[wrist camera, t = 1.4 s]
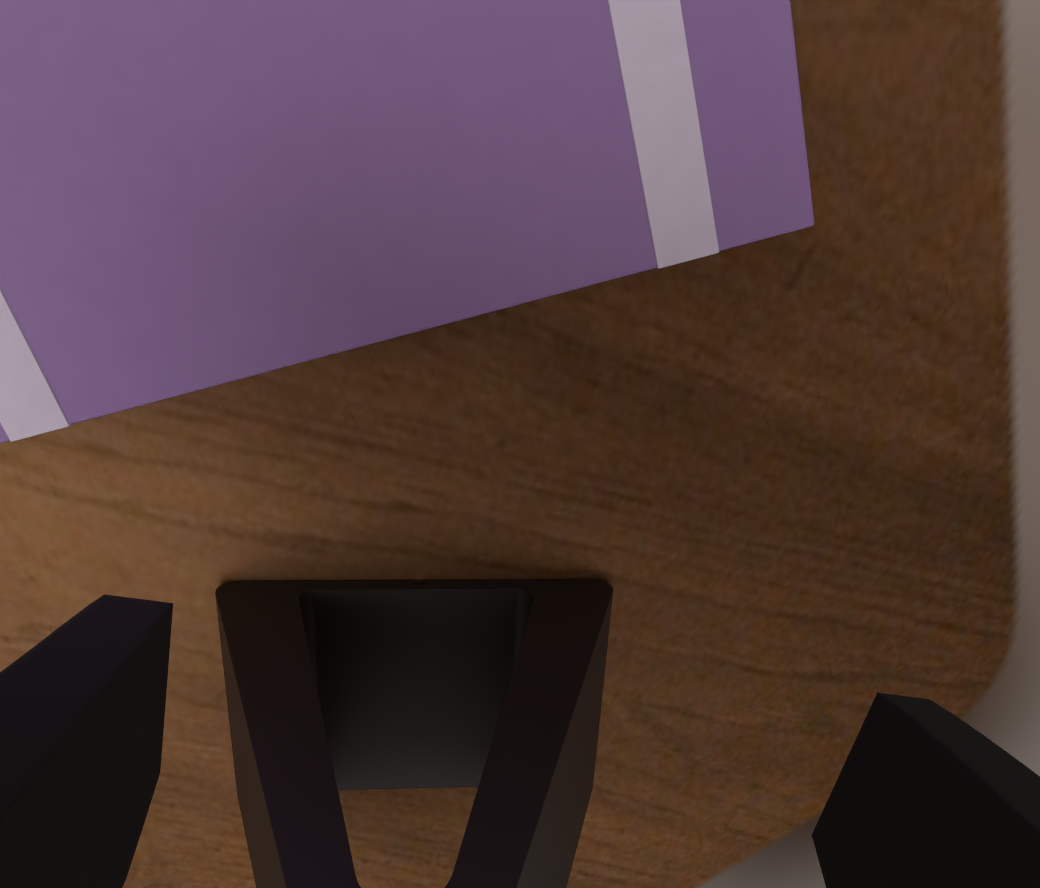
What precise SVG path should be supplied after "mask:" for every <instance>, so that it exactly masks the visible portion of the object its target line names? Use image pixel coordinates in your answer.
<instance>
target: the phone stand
mask: <svg viewBox="0 0 1040 888" xmlns="http://www.w3.org/2000/svg"><path fill="white" fill-rule="evenodd" d="M215 594H216V603H217V612H218V621H219V630H220V639H221V649H222V658H223V667H224V676H225V685H226V694H227V704H228V713H229V722H230V731H231V740H232V749H233V758H234V768H235V777H236V786H237V795H238V800H239V805H240V810H241V815H242V820H243V825H244V830H245V835H246V839H247V844H248V849H249V854H250V859H251V864H252V869H253V873H254V878H255V883H256V888H361V887H360V886H359V884H358V882H357V879H356V876H355V871H354V866H353V861H352V856H351V852H350V847H349V842H348V837H347V832H346V827H345V822H344V818H343V813H342V808H341V803H340V798H339V793H338V790H362V789H402V788H441V787H478V790H477V794H476V797H475V800H474V804H473V807H472V811H471V814H470V817H469V821H468V824H467V828H466V831H465V834H464V838H463V841H462V844H461V848H460V851H459V855H458V858H457V861H456V865H455V868H454V871H453V874H452V877H451V879H450V881H449V882H448V884H447V885H446V886H445V888H566V887H567V883H568V879H569V875H570V871H571V868H572V864H573V860H574V856H575V853H576V849H577V845H578V841H579V837H580V834H581V830H582V826H583V822H584V818H585V815H586V811H587V807H588V803H589V799H590V796H591V792H592V788H593V780H594V770H595V761H596V751H597V741H598V731H599V722H600V712H601V702H602V692H603V683H604V673H605V663H606V653H607V643H608V634H609V624H610V614H611V604H612V595H613V588H612V586H611V585H610V584H609V583H607V582H605V581H602V580H427V582H426V583H424V584H421V585H416V584H413V583H412V582H411V580H376V581H232V582H227V583H224V584H222V585H221V586H219V587H218V588H217V589H216V592H215Z"/></svg>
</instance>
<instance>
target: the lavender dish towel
mask: <svg viewBox="0 0 1040 888" xmlns="http://www.w3.org/2000/svg"><path fill="white" fill-rule="evenodd" d="M813 225H814V216H813V207H812V197H811V188H810V179H809V170H808V161H807V151H806V142H805V133H804V124H803V115H802V105H801V96H800V87H799V78H798V69H797V59H796V50H795V41H794V32H793V23H792V13H791V4H790V0H0V443H3V442H7V441H11V442H12V441H16V440H20V439H23V438H27V437H31V436H35V435H38V434H42V433H46V432H50V431H53V430H57V429H61V428H65V427H68V426H70V425H71V424H74V423H78V422H82V421H85V420H89V419H93V418H97V417H100V416H104V415H108V414H112V413H115V412H119V411H123V410H127V409H130V408H134V407H138V406H142V405H145V404H149V403H153V402H157V401H160V400H164V399H168V398H172V397H175V396H179V395H183V394H186V393H190V392H194V391H198V390H201V389H205V388H209V387H213V386H216V385H220V384H224V383H228V382H231V381H235V380H239V379H243V378H246V377H250V376H254V375H258V374H261V373H265V372H269V371H273V370H276V369H280V368H284V367H288V366H291V365H295V364H299V363H303V362H306V361H310V360H314V359H317V358H321V357H325V356H329V355H332V354H336V353H340V352H344V351H347V350H351V349H355V348H359V347H362V346H366V345H370V344H374V343H377V342H381V341H385V340H389V339H392V338H396V337H400V336H404V335H407V334H411V333H415V332H419V331H422V330H426V329H430V328H433V327H437V326H441V325H445V324H448V323H452V322H456V321H460V320H463V319H467V318H471V317H475V316H478V315H482V314H486V313H490V312H493V311H497V310H501V309H505V308H508V307H512V306H516V305H520V304H523V303H527V302H531V301H535V300H538V299H542V298H546V297H550V296H553V295H557V294H561V293H564V292H568V291H572V290H576V289H579V288H583V287H587V286H591V285H594V284H598V283H602V282H606V281H609V280H613V279H617V278H621V277H624V276H628V275H632V274H636V273H639V272H643V271H647V270H651V269H654V268H658V269H660V268H664V267H667V266H671V265H675V264H678V263H682V262H686V261H690V260H693V259H697V258H701V257H705V256H708V255H712V254H716V253H719V251H722V250H725V249H729V248H733V247H737V246H740V245H744V244H748V243H752V242H755V241H759V240H763V239H767V238H770V237H774V236H778V235H782V234H785V233H789V232H793V231H797V230H800V229H804V228H808V227H811V226H813Z"/></svg>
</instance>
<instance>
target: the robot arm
mask: <svg viewBox="0 0 1040 888" xmlns="http://www.w3.org/2000/svg"><path fill="white" fill-rule="evenodd" d="M172 610H173V603H167V602H159V601H151V600H143V599H135V598H127V597H119V596H111V595H103V596H102V597H100V598H99V599H97V600H96V601H94V602H92V603H91V604H90V605H88V606H87V607H86V608H84V609H83V610H82V611H80V612H79V613H78V614H76V615H75V616H74V617H72V618H71V619H70V620H68V621H67V622H66V623H64V624H63V625H62V626H61V627H59V628H58V629H57V630H55V631H54V632H53V633H51V634H50V635H49V636H48V637H46V638H45V639H44V640H42V641H41V642H40V643H38V644H37V645H36V646H34V647H33V648H32V649H31V650H29V651H28V652H27V653H25V654H24V655H23V656H21V657H20V658H19V659H17V660H16V661H15V662H13V663H12V664H11V665H9V666H8V667H7V668H5V669H4V670H3V671H1V672H0V888H122V887H123V885H124V882H125V880H126V877H127V874H128V871H129V868H130V865H131V862H132V859H133V856H134V853H135V850H136V847H137V844H138V841H139V838H140V835H141V832H142V828H143V825H144V822H145V819H146V816H147V812H148V809H149V806H150V803H151V800H152V796H153V793H154V790H155V787H156V784H157V780H158V777H159V774H160V767H161V754H162V741H163V728H164V715H165V702H166V689H167V675H168V662H169V649H170V636H171V623H172ZM812 837H813V841H814V845H815V848H816V852H817V855H818V859H819V863H820V866H821V870H822V874H823V877H824V881H825V885H826V888H1040V777H1039V776H1038V775H1037V774H1035V773H1034V772H1033V771H1031V770H1030V769H1029V768H1028V767H1026V766H1025V765H1024V764H1022V763H1021V762H1019V761H1018V760H1017V759H1015V758H1014V757H1013V756H1011V755H1010V754H1009V753H1007V752H1006V751H1004V750H1003V749H1002V748H1000V747H999V746H998V745H996V744H995V743H993V742H992V741H991V740H989V739H988V738H987V737H985V736H984V735H982V734H981V733H980V732H978V731H977V730H975V729H974V728H972V727H971V726H970V725H968V724H967V723H965V722H964V721H962V720H961V719H959V718H958V717H956V716H955V715H953V714H952V713H950V712H949V711H947V710H946V709H944V708H942V707H941V706H939V705H938V704H936V703H934V702H933V701H931V700H929V699H922V698H914V697H906V696H899V695H891V694H883V693H877V695H876V697H875V699H874V701H873V703H872V706H871V708H870V710H869V712H868V714H867V716H866V719H865V721H864V723H863V725H862V727H861V729H860V732H859V734H858V736H857V738H856V740H855V742H854V745H853V747H852V749H851V751H850V753H849V755H848V758H847V760H846V762H845V764H844V766H843V769H842V771H841V773H840V775H839V777H838V779H837V782H836V784H835V786H834V788H833V790H832V792H831V795H830V797H829V799H828V801H827V803H826V805H825V808H824V810H823V812H822V814H821V816H820V818H819V821H818V823H817V825H816V827H815V829H814V832H813V834H812Z"/></svg>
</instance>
